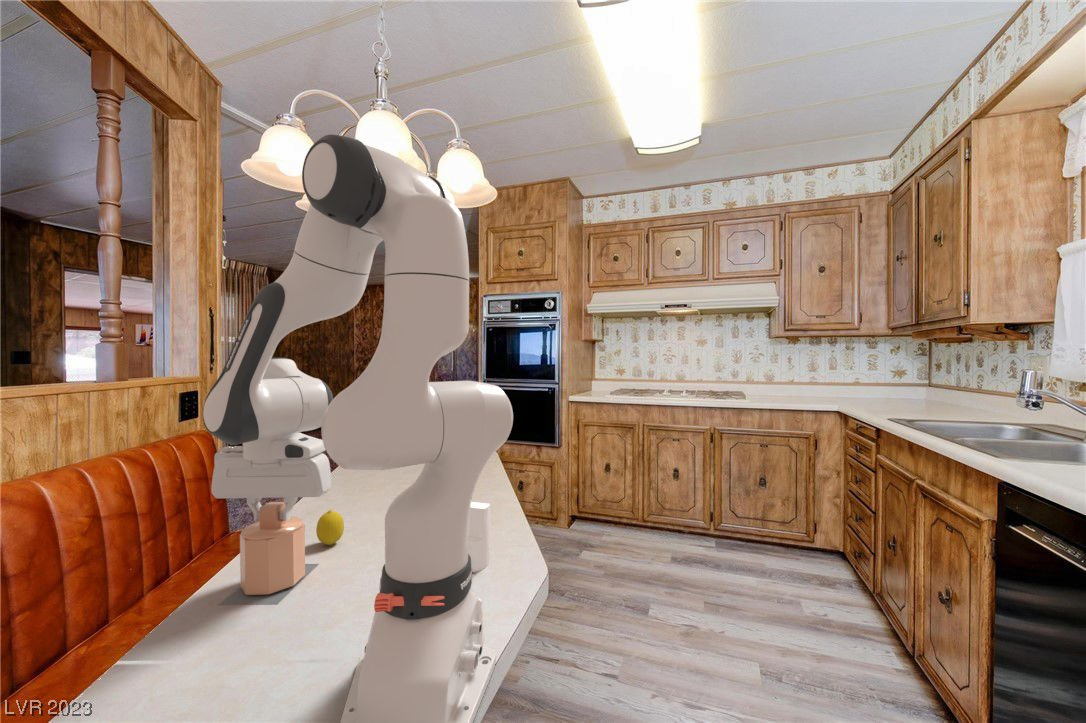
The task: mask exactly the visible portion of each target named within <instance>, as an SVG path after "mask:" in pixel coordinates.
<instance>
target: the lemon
mask: <svg viewBox="0 0 1086 723" xmlns="http://www.w3.org/2000/svg"><path fill="white" fill-rule="evenodd" d="M315 530H316V531H315V532H316V537H317V538H318V541H319V542H320V543H321V544H324V545H327V546H332V545H334V544H335V543H337V542H338V541H340V539H341V538H342V536H343V534H344V532H345V531H344V530H345V523H344V518H343V517H342V514H340V513H339V512H337V511H333V510H332V509H330V510H327V512H325V513H323V514H322V515H321V516H320V517H319V519H318V521H317V523H316V529H315Z"/></svg>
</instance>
